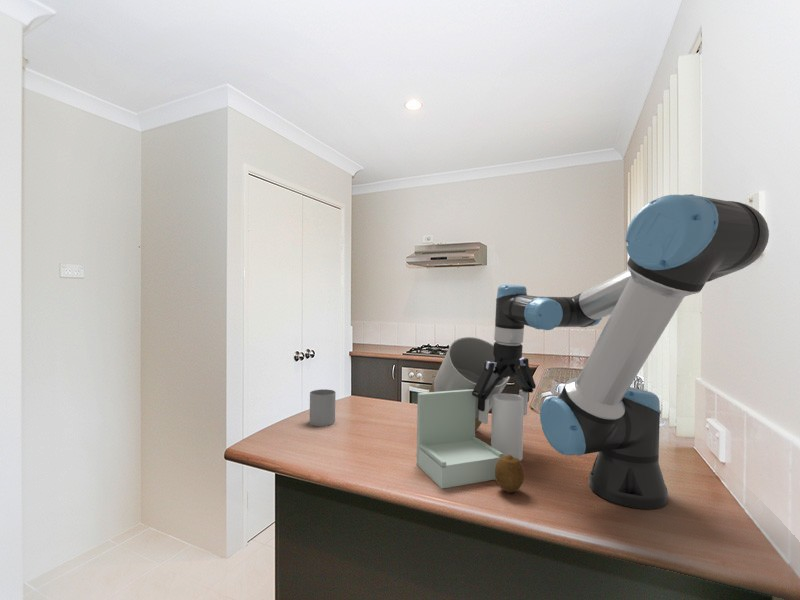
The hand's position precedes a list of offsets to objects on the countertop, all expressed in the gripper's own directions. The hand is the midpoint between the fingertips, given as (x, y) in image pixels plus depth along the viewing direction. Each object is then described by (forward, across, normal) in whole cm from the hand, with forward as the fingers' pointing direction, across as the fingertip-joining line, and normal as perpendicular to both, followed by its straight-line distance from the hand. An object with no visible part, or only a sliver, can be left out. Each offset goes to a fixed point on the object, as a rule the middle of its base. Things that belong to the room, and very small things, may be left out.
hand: (503, 418), depth 113 cm
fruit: (+8, +15, +18) cm, 25 cm away
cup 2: (+9, +1, +3) cm, 10 cm away
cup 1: (+13, +35, -47) cm, 60 cm away
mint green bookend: (+8, +18, +5) cm, 21 cm away
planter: (+7, 0, -23) cm, 24 cm away
